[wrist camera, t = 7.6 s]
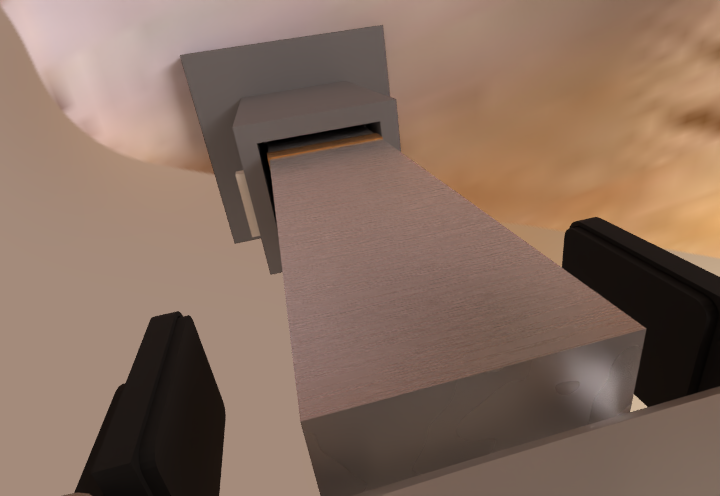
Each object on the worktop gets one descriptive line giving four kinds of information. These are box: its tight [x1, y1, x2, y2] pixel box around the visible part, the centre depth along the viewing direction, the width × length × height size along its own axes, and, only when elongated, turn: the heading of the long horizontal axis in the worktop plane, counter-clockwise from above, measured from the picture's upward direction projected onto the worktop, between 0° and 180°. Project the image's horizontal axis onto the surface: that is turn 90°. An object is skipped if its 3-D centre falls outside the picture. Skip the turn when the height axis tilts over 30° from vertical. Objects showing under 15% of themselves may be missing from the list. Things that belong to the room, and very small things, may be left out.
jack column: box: [267, 125, 646, 496], centre depth 15 cm, size 5×5×20 cm
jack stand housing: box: [180, 25, 401, 274], centre depth 26 cm, size 13×13×14 cm
